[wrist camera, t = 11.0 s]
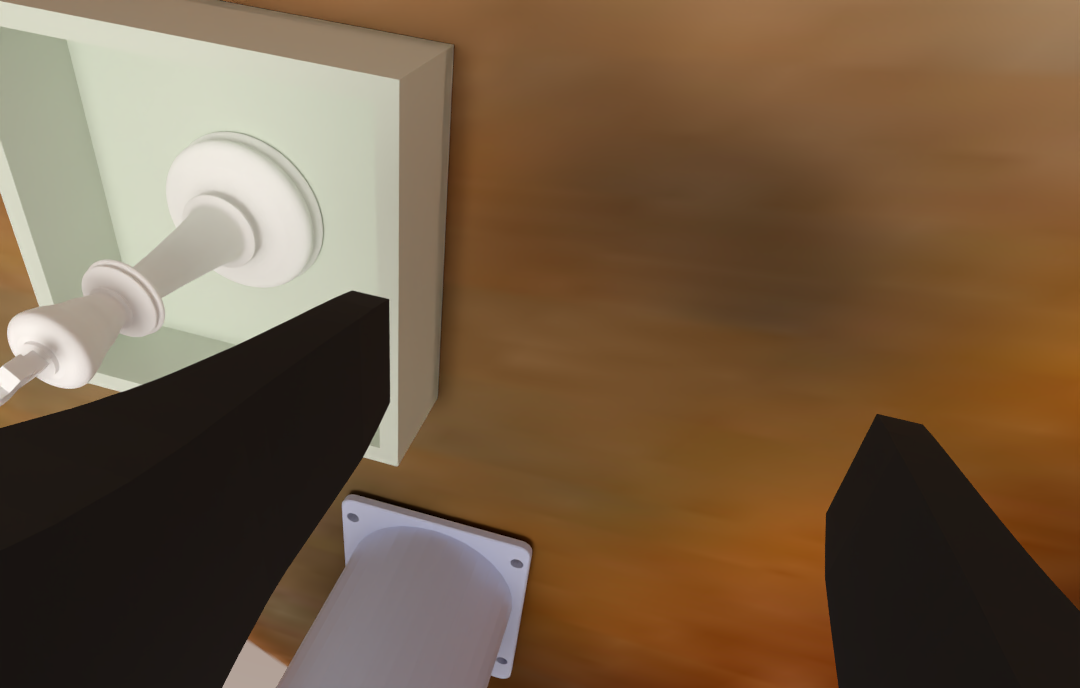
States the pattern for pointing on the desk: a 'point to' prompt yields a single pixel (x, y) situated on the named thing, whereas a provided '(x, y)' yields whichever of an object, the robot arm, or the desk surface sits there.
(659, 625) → the desk surface
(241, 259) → the chess piece
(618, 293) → the desk surface
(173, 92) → the box
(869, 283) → the desk surface
